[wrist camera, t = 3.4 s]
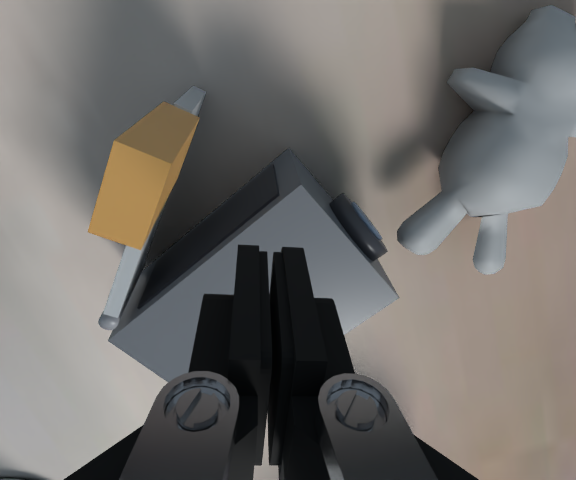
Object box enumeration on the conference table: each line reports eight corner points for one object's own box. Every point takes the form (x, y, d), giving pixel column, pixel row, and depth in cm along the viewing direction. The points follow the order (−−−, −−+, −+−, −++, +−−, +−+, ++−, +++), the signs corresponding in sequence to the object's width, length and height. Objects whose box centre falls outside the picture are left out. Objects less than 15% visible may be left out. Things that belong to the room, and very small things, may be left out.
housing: (226, 344, 32) (219, 428, 25) (137, 273, 29) (101, 349, 22) (381, 231, 29) (422, 293, 22) (302, 133, 25) (321, 171, 18)
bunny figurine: (675, 49, 21) (530, 296, 25) (593, 56, 26) (483, 263, 30) (529, -26, 19) (399, 258, 23) (469, -3, 23) (371, 229, 28)
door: (146, 272, 28) (70, 448, 16) (124, 264, 28) (27, 440, 16) (213, 94, 23) (172, 160, 11) (186, 82, 23) (114, 137, 11)
